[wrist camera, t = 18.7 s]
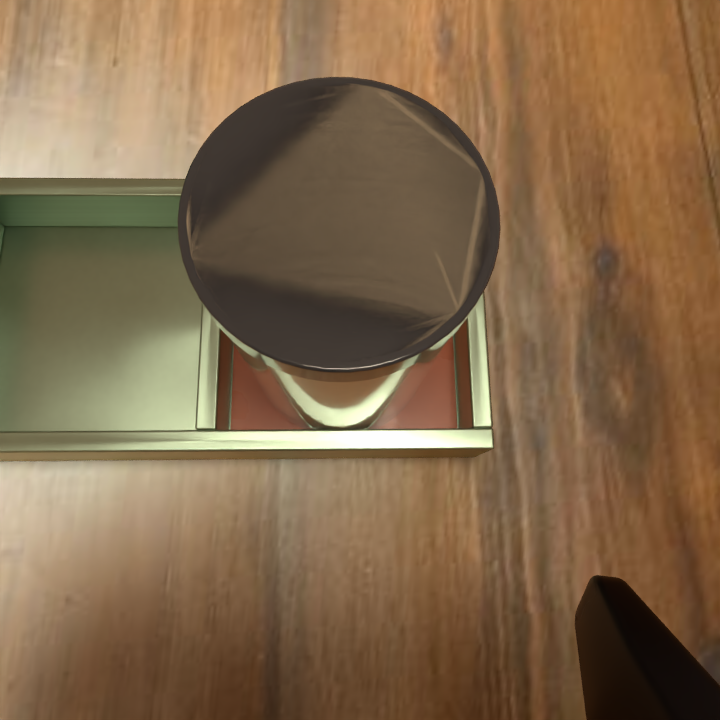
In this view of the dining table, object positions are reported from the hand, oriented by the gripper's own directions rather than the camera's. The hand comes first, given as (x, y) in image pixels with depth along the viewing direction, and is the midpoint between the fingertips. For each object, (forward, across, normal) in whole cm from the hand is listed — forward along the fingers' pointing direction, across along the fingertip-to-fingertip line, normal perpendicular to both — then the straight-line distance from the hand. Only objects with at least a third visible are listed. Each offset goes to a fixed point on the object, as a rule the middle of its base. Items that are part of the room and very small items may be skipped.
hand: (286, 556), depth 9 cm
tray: (+15, +4, +5) cm, 16 cm away
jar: (+14, 0, +4) cm, 15 cm away
